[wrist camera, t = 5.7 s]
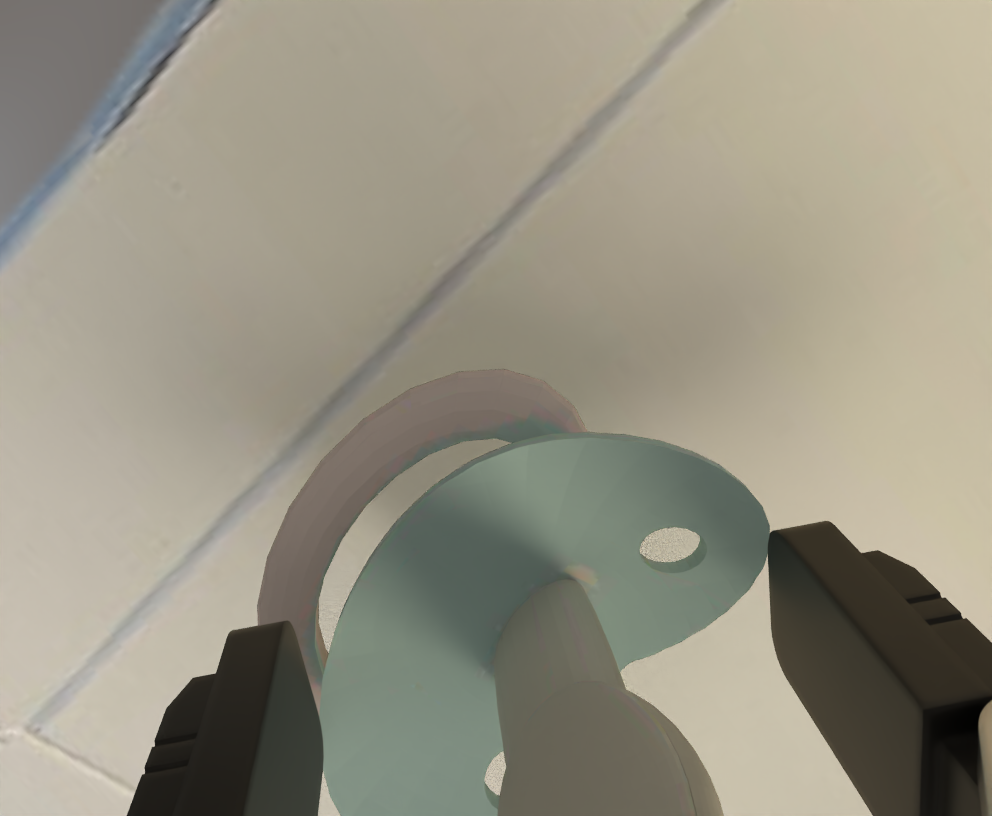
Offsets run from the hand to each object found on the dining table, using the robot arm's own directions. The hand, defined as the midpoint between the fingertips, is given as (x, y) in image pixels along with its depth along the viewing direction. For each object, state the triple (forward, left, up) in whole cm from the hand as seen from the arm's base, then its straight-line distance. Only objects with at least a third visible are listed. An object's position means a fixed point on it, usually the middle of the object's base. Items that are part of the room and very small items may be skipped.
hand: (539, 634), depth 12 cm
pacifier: (-1, 0, -2) cm, 2 cm away
